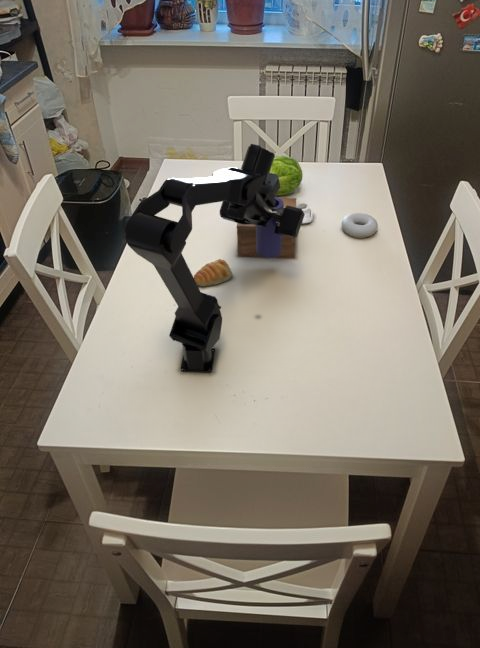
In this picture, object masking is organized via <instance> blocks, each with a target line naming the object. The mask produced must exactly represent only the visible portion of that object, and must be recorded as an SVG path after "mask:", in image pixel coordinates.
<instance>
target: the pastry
mask: <svg viewBox="0 0 480 648" xmlns="http://www.w3.org/2000/svg"><path fill="white" fill-rule="evenodd" d="M193 277H194V279H195V282H196V284H197V286H198V287H199V286H200V287H203V288H204V287H209V286H216V285H219V284H222V283H224V282H227V281H229V280H230V279H231V278H232V277H233V272H232V269H231V268H230V265H229V264H228V263H227V261H226V260H225V259H221V258H218V259H216V260H214V261H211V262H208V263H206V264H205V265H204V266H202V267H201V268H200V269H198V270H197V272H195V274H194V275H193Z"/></svg>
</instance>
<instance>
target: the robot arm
mask: <svg viewBox="0 0 480 648" xmlns="http://www.w3.org/2000/svg"><path fill="white" fill-rule="evenodd" d="M274 157H276V154H275V153H274V152H271V151H269V150H268V149H266V148H264V147H261V145H259V144H254V143H251V144H250V145H249V146H248V147H247V149H246V153H245V155H244V158H243V161H242V165H241V167H240V168H238V167H233V166H229V167H227V168H221V169H218V170H215V171H213V172H212V175H211V176H208V177H206V176H205V177H192V178H190V177H189V178H175V177H170V178H167V179H165V180H164V181H163V183H162V184H161V186H160V187H159V189H158V190H157V191H155V192H154V193H152V194H151V195H149V196H147V197H146V198H145V199H143V200H142V201H140V202H139V203H138V205H137V206H136V208H135V210H134V211H133V212H132V214H131V216H130V217H129V219H128V220H127V222H126V224H125V228H124V240H125V242H126V245H127V246H128V247H129V248H130V249H131V250H132V251H133V252H134V253H136V255H138V256H139V257H141V258H142V259H144V260H146V261H147V262H148V263H150V264H152V265H153V267H154V268H155V271H156V272H157V274H158V275H159V276H160V278H161V280H162V282H163V283H164V285H165V287H166V288H167V290H168V291H169V294H170V295H171V297H172V298H173V300H174V302H175V303H176V305H177V308H176V310H175V311H174V316H175V317H174V320H173V323H172V326H171V329H170V332H169V335H168V336H169V338H170V339H171V341H173V342H178V343H180V344H181V346H182V353H183V355H182V359H181V364H180V367H179V369H180V371H181V372H185V373H186V372H187V373H212V372H213V369H214V363H215V357H216V348H214V347H215V346H216V344H217V343H218V342H219V340H220V339H221V332H222V324H223V316H222V312H221V309H222V306H221V305H220V304H219V301H218V298H217V297H216V296H215V295H212V294H208V293H206V292H203V291H201V289H200V288H199V285H197V284H196V282H195V279H194V275H193V273H192V272H191V270H190V267H189V266H188V263H187V262H186V259H185V257H184V255H183V250H184V249H185V247H186V245H187V239H188V238H189V236H190V235H191V233H192V231H193V211H194V210H195V208H196V206H202V205H208V204H214V203H221V206H220V209H219V216H220V218H222V219H223V220H226V221H229V222H232V223H236V224H237V223H240V224H243V225H246V224H254V225H258V226H262V227H266V224H267V223H268V222H269V220H270V219H272V220H276V223H277V226H276V229H275V232H274V233H276V234H280V235H284V236H288V237H291V238H297V237H298V236H299V233H300V230H301V227H302V224H303V223H302V221H303V218H304V215H305V214H304V212H303V209H300V208H296V207H292V206H288V205H287V206H286V207H285V208H284V207H283V208H281V209H280V210H277V209H273V208H272V207H274V206H275V203H276V201H275V200H274V198H275V197H277V196H276V194H277V192H278V190H279V189H280V182H279V178H278V175H276V174H273V173H269V172H270V169H271V166H272V163H273V160H274ZM170 205H174V206H178V207H181V214H182V215H181V216H180V218H179V220H178V221H176V220H171V219H169V218H165V217H162V216H158V214H159V213H160V212H162V211H164V210H165V209H166V208H168V207H169V206H170ZM274 213H275V214H274ZM276 214H278V215H276ZM279 214H280V215H279Z"/></svg>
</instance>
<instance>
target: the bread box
mask: <svg viewBox="0 0 480 648" xmlns="http://www.w3.org/2000/svg"><path fill="white" fill-rule="evenodd" d="M236 234H237V235H236V238H237V239H236V240H237V256H238V257H248V258H249V257H250V258H251V257H253V258H262V257H261V256H260V255H258V254H257V252H256V229H237V228H236ZM296 238H297V237H296ZM296 238H291V237H288V236H284V235H282V252H281V254H280V255H279V256H277V257H276V258H279V259H280V258H283V259H285V258H286V259H295V257H296V256H295V254H296Z"/></svg>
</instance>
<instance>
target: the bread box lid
mask: <svg viewBox="0 0 480 648" xmlns="http://www.w3.org/2000/svg"><path fill="white" fill-rule="evenodd" d="M279 198H280V199H281V200H282V201H283V202H284V208H285V207H286V206H287V205H288V206H292V207H296V204H297V198H294V197H293V198H292V197H291V198H290V197H279ZM237 229H256V225H254V224H246V225H243V224H240V223H236V230H237Z"/></svg>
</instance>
